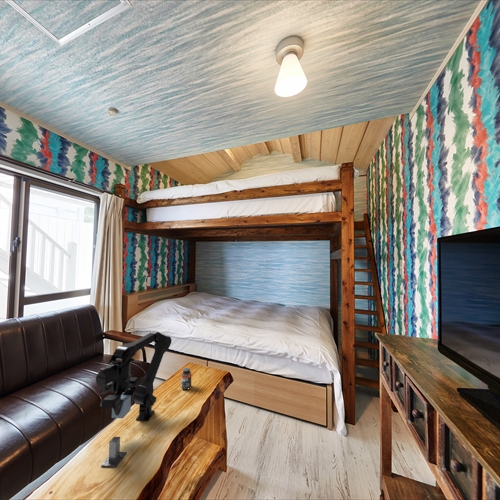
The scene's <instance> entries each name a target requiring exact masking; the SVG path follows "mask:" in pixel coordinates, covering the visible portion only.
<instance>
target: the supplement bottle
mask: <svg viewBox="0 0 500 500" xmlns="http://www.w3.org/2000/svg"><path fill="white" fill-rule="evenodd" d="M190 387H191V388H192V371H191V368H190V367H185V368H183V369H182V373H181V390H182V389H188V388H190ZM191 388H190V389H191ZM188 390H189V389H188Z"/></svg>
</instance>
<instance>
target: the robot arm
mask: <svg viewBox="0 0 500 500" xmlns="http://www.w3.org/2000/svg"><path fill="white" fill-rule="evenodd" d="M172 341H173V340H172V337H171V336H169V335H165V334H162V333H161V332H159V331H155V330H152V331H150V332H149V333H148V334H146V335H144V336H142V337H140V338H138V339H136V340H134V341H132V342H128V343H125V344H121V345H119V346H117V347H115V350H114V351H113V354H112V356H111V357H110V359H109V360H108V362H107V366H105V367H101V368H100V369H99V372H97V374H96V376H95V383H96V384H97V386H98V387H99V393H100V394H101V395H103V394H104V395H105V394H106V393H109V392H110V393H114V394H108V395H107V396H106V397H104V398H103V399H102V400H101V401H100V408H101V409H102V408H103V409H105V408H106V409H107V408H108V409H112V408H113V410H114V412H115V415H117V416H118V415H119V413H120V410H121V406H122V403H123V400H121V395H131V397H132V396H133V397H132V399H133V401H134V402H135V405H139V408H138V409H139V410H138V415H137V417H136V418H135V420H136V421H145V422H146V421H149V420H150V419H151V417H152V416H153V415H154V413H155V412H156V411H155V410H154V409H153V406H154V404H155V403H156V402H157V397H156V396H155V395H154V391H155V389H154V381H155V379H156V376H157V373H158V372H159V371H158V370H159V368H160V365H161V363H162V360H163V357H164V354H165V353H166V352H167V351H168V350H169V349H170V347H171V345H172ZM151 343H154V346H153V349H154V352H153V355H152V358H151V360H150V362H149V366H148V369H147V371H146V374H145V376H144V379H143V381H142V382H141V379H140V377H138V376H137V377H136V376H135V377H134V376H133V374H131V363H133V362H135V360H136V359H135V358H133V357H134V356H135V355H136V354H137V352H139V351H140V350H142V349H144V347H147V346H148V345H150V344H151ZM133 384H134V385H133Z"/></svg>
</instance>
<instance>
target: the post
mask: <svg viewBox="0 0 500 500" xmlns="http://www.w3.org/2000/svg"><path fill="white" fill-rule="evenodd" d="M120 449H121V436H113V437H112V438H111V440H109V442H108V455H107V457H106V459H104V461H103V462H102V464H101V465H100V467H101V468H114V469H115V468H118V466H119V465H120V463H121V461H122V460H123V459H124V458H125V456H126V455H127V451H120Z"/></svg>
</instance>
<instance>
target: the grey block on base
mask: <svg viewBox="0 0 500 500" xmlns="http://www.w3.org/2000/svg"><path fill="white" fill-rule="evenodd" d="M121 400H123V403H122V406H121V410H120V413H119V415H118V416H117V415H115V412H114V410H113V408H111V419H124V418H125V417H126V416H127V415H128V414H129V412H131V406H132V405H131V404H132V396H131V395H123V394H122V395H121Z"/></svg>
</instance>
